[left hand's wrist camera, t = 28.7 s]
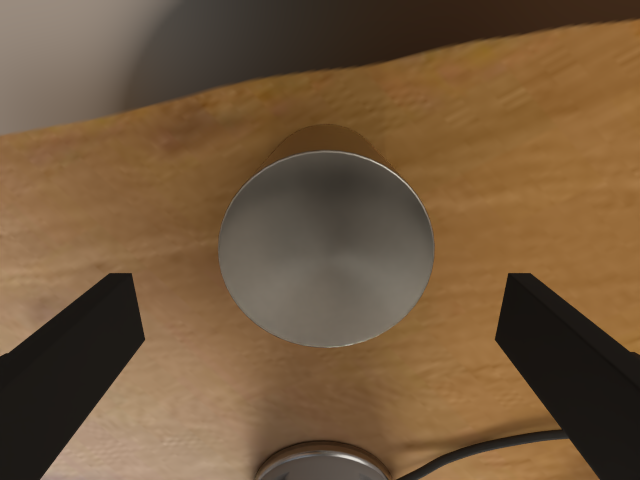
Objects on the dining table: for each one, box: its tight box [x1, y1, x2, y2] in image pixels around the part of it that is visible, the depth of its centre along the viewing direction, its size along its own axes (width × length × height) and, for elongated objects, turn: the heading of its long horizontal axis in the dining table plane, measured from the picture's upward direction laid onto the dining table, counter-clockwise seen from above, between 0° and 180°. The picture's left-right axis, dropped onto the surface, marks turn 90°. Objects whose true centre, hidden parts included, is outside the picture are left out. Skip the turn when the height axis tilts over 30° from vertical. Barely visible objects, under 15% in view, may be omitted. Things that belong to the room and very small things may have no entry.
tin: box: [218, 124, 435, 348], centre depth 21 cm, size 9×9×13 cm
